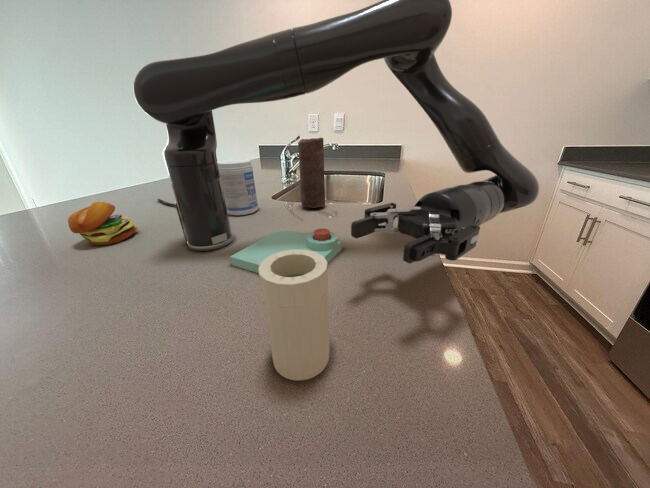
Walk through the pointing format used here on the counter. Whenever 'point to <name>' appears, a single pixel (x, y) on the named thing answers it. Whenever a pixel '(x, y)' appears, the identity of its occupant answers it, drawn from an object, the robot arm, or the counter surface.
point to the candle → (312, 172)
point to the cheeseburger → (101, 224)
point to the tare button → (321, 234)
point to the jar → (297, 311)
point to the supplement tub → (238, 186)
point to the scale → (284, 248)
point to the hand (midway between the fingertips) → (376, 241)
